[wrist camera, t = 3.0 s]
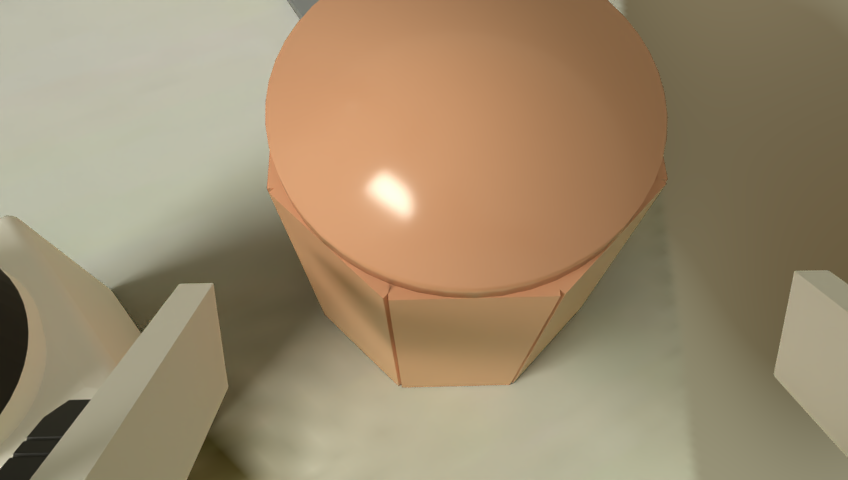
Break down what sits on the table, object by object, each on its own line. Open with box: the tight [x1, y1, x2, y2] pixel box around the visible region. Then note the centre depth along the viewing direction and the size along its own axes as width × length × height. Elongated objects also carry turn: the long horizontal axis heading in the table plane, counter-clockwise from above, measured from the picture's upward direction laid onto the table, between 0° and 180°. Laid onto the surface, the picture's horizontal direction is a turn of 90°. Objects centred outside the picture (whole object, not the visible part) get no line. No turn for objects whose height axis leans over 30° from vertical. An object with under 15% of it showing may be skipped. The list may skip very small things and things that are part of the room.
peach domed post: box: [265, 0, 668, 387], centre depth 22 cm, size 10×10×11 cm
